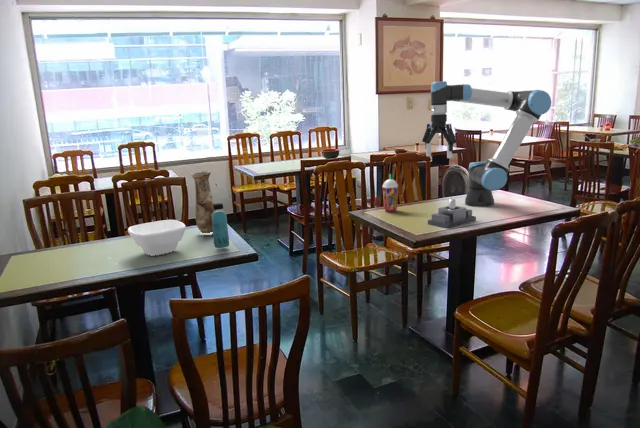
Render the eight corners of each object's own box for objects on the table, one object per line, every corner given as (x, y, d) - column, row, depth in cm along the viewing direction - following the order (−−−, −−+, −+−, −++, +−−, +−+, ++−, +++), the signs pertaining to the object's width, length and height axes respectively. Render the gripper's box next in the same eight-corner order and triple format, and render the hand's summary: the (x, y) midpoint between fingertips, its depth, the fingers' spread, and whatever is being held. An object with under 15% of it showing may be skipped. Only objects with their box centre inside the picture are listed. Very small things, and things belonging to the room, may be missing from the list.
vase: (223, 232, 238) (217, 171, 231) (204, 237, 231) (197, 174, 224) (211, 229, 245) (205, 169, 239) (192, 234, 238) (185, 172, 231)
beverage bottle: (217, 247, 214) (212, 202, 210) (232, 247, 213) (227, 201, 209) (212, 251, 208) (207, 205, 203) (227, 251, 207) (223, 205, 203)
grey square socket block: (451, 215, 240) (451, 205, 238) (466, 218, 232) (466, 207, 231) (438, 218, 235) (438, 208, 234) (453, 221, 227) (453, 211, 226)
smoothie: (395, 213, 258) (394, 175, 254) (380, 212, 262) (379, 175, 258) (400, 209, 265) (400, 173, 261) (386, 209, 269) (385, 172, 265)
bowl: (126, 252, 213) (122, 227, 211) (176, 242, 226) (173, 217, 223) (141, 265, 196) (137, 236, 193) (194, 253, 208) (191, 226, 205)
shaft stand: (456, 216, 244) (456, 194, 242) (476, 220, 234) (476, 198, 232) (427, 224, 233) (427, 201, 231) (447, 228, 224) (447, 204, 221)
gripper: (415, 114, 251) (415, 156, 256) (453, 114, 231) (453, 159, 236) (425, 113, 255) (425, 154, 260) (464, 113, 235) (463, 157, 240)
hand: (438, 157), depth 248 cm, fingers open, 13 cm apart
